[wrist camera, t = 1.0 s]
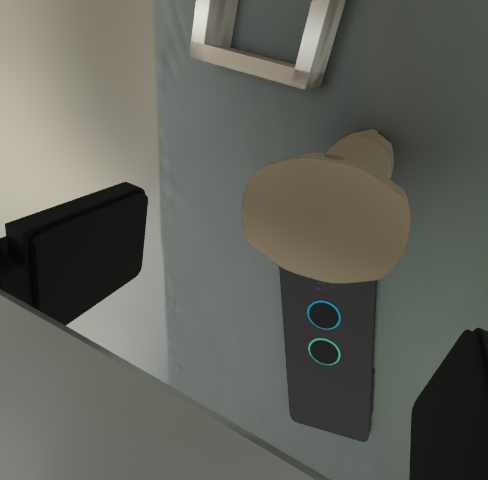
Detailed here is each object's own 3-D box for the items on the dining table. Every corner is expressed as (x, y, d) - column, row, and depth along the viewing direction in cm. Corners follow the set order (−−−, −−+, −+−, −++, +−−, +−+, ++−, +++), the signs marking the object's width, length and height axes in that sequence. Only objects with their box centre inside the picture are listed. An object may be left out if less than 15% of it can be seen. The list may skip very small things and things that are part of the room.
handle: (406, 192, 26) (389, 301, 14) (319, 175, 28) (237, 256, 16) (426, 123, 24) (427, 179, 12) (330, 110, 26) (246, 146, 14)
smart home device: (378, 260, 28) (369, 445, 35) (380, 251, 29) (372, 430, 37) (275, 250, 31) (288, 421, 39) (282, 243, 33) (293, 408, 40)
